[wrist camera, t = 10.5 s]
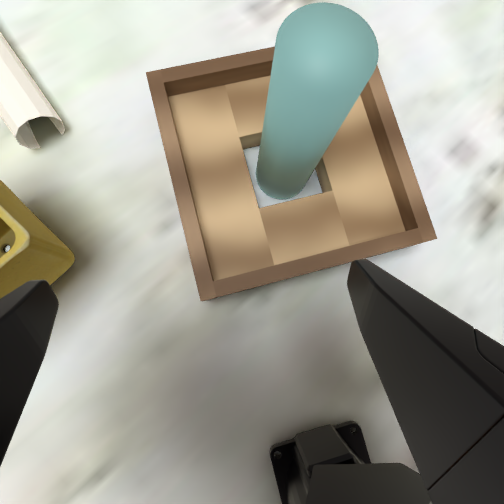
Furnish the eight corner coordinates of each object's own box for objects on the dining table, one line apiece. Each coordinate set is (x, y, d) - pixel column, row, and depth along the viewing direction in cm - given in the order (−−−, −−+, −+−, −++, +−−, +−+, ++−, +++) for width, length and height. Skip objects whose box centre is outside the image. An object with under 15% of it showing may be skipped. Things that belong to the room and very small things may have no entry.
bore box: (408, 246, 24) (437, 238, 20) (206, 300, 23) (200, 301, 19) (347, 64, 26) (364, 28, 22) (158, 104, 24) (145, 72, 21)
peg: (316, 170, 24) (397, 41, 12) (287, 209, 24) (340, 116, 11) (275, 141, 25) (314, -16, 12) (245, 179, 24) (254, 54, 12)
